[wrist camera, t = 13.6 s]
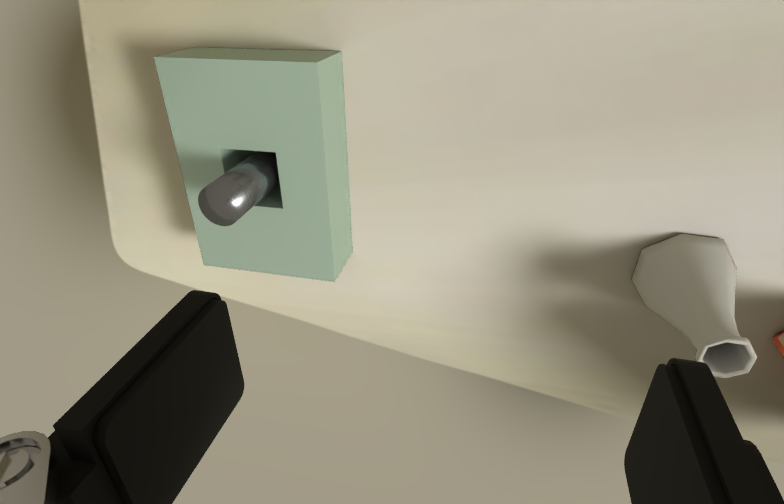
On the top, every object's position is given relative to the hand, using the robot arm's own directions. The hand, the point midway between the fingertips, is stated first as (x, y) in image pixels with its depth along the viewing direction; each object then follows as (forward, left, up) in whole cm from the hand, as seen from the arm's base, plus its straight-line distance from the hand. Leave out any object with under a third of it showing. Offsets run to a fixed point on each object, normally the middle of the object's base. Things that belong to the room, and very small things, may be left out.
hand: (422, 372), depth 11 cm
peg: (+6, -17, -28) cm, 33 cm away
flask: (+13, +16, -28) cm, 35 cm away
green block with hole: (+6, -17, -28) cm, 33 cm away
